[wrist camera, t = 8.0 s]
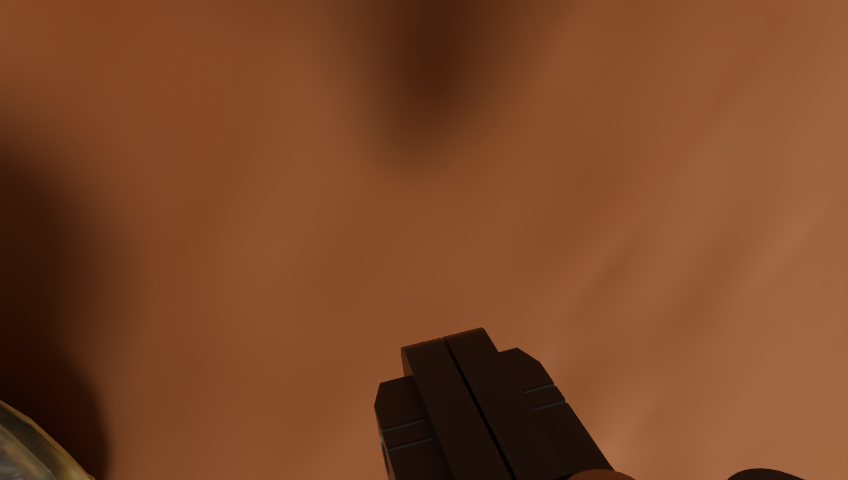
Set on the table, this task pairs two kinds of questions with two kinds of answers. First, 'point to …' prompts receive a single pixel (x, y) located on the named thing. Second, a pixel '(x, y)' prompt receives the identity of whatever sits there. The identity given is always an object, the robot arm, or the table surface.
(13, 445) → the turtle shell
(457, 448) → the robot arm
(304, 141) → the table surface
